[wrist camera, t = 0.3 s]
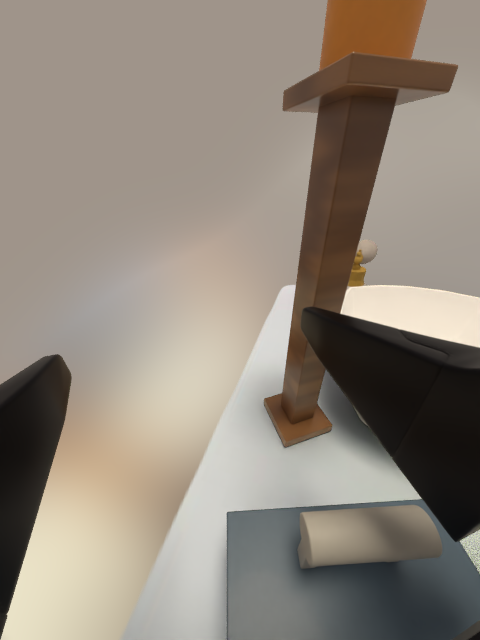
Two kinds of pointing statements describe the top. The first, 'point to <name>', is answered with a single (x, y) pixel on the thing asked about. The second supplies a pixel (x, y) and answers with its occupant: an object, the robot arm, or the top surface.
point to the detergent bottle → (370, 28)
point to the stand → (340, 202)
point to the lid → (347, 574)
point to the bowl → (417, 311)
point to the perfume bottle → (361, 262)
